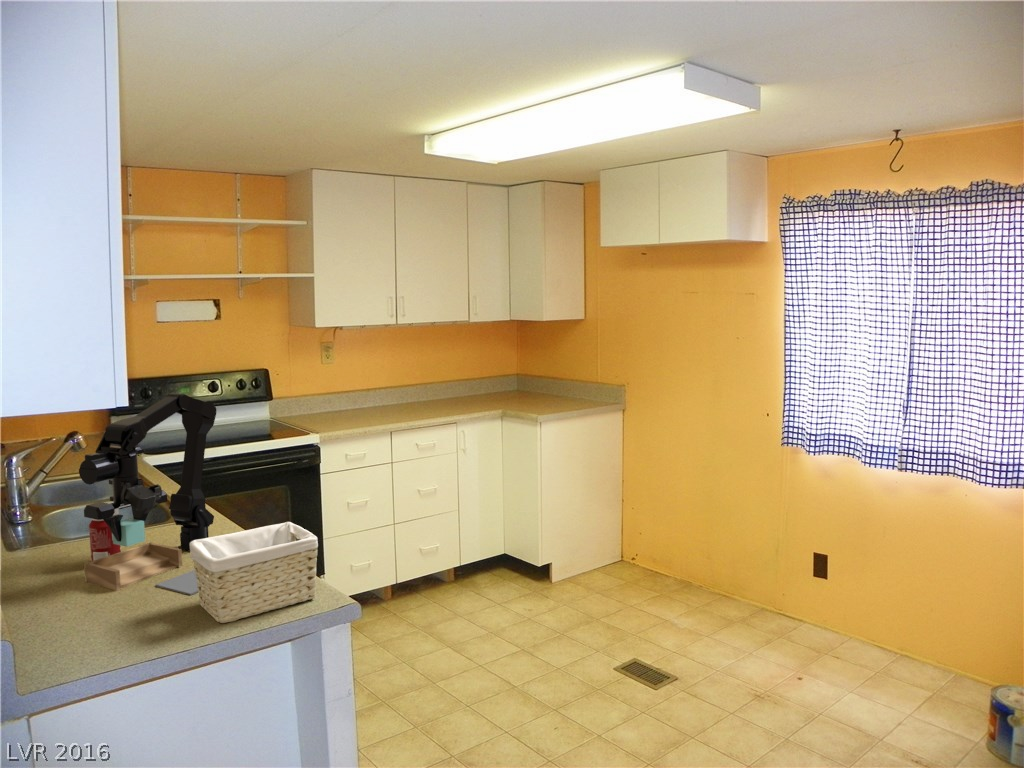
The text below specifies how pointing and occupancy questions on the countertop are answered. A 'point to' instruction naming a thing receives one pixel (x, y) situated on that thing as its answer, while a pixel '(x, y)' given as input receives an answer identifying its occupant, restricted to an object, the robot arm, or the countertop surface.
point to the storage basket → (255, 570)
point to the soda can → (101, 540)
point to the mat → (181, 583)
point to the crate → (132, 565)
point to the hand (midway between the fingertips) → (129, 538)
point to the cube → (131, 532)
